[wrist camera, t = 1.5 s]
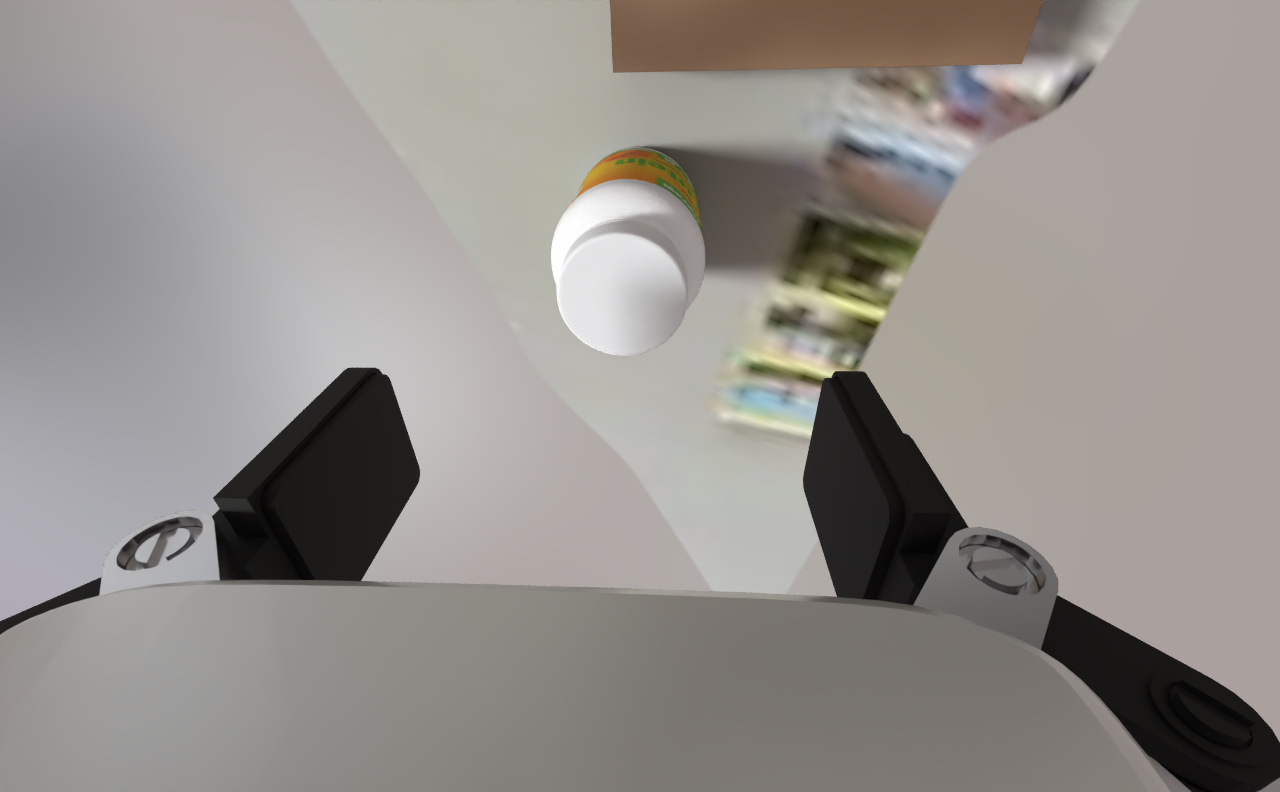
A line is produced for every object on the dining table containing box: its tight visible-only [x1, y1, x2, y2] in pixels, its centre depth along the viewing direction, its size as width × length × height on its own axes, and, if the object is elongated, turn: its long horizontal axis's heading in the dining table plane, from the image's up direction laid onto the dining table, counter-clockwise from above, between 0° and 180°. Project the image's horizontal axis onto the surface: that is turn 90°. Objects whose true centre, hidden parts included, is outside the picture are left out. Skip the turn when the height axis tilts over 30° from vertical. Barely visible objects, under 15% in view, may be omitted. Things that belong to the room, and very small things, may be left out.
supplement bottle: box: [551, 147, 705, 355], centre depth 19 cm, size 5×5×10 cm
